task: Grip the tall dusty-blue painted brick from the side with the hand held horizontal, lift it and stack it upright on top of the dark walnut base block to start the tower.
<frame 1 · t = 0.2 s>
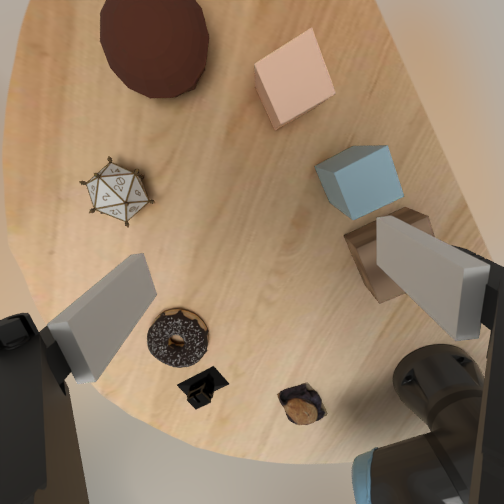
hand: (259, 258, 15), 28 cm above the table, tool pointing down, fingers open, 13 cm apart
blue brick: (340, 175, 40), on the table
clay brick: (285, 97, 37), on the table
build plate: (203, 381, 56), on the table
donut: (181, 331, 51), on the table
brown and black lump: (301, 401, 58), on the table
game die: (131, 188, 42), on the table
base block: (383, 248, 44), on the table
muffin: (172, 58, 35), on the table
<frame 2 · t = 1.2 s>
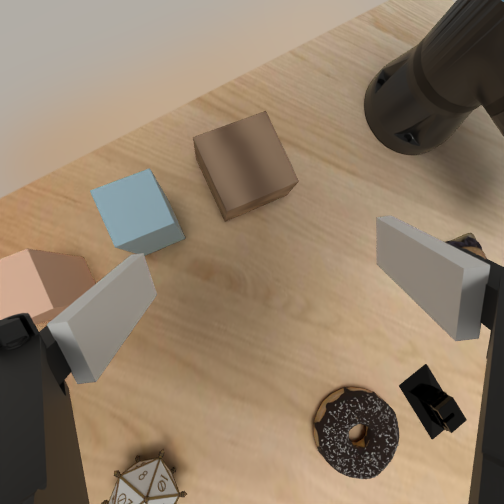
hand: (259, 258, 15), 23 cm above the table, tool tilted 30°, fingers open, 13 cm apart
blue brick: (156, 227, 37), on the table
clay brick: (70, 287, 35), on the table
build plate: (425, 399, 41), on the table
donut: (348, 422, 39), on the table
brown and black lump: (452, 265, 44), on the table
game die: (152, 472, 35), on the table
base block: (242, 177, 40), on the table
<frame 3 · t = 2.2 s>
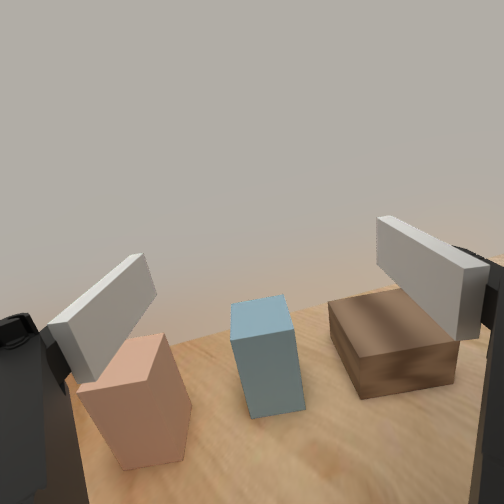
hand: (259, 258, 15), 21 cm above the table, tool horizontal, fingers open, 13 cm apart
blue brick: (274, 390, 32), on the table
clay brick: (161, 435, 30), on the table
base block: (383, 356, 34), on the table
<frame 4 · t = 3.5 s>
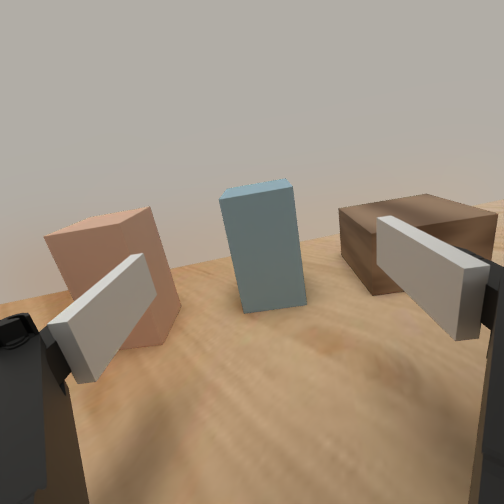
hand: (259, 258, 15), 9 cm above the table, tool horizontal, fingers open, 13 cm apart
blue brick: (273, 293, 28), on the table
clay brick: (143, 327, 27), on the table
base block: (401, 265, 29), on the table
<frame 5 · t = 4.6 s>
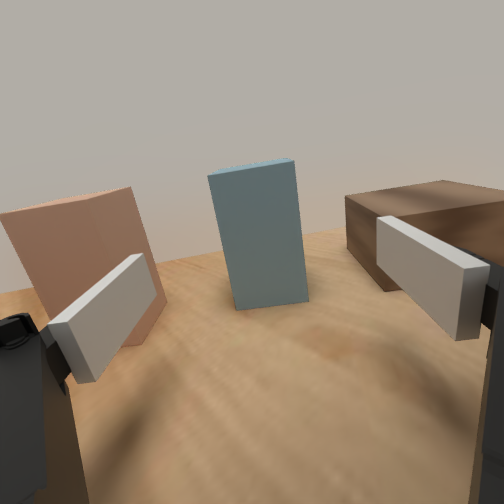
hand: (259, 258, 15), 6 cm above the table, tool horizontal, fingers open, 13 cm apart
blue brick: (270, 288, 25), on the table
clay brick: (122, 325, 23), on the table
base block: (416, 258, 26), on the table
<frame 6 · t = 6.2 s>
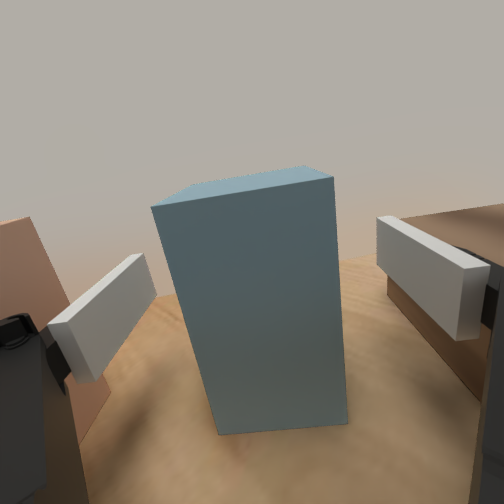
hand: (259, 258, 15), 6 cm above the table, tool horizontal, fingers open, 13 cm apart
blue brick: (278, 378, 15), on the table
clay brick: (26, 447, 14), on the table, touching hand
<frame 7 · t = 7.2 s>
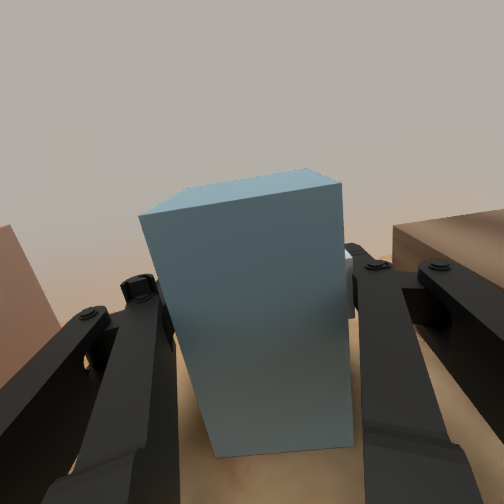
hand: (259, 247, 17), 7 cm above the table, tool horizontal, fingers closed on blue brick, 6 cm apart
blue brick: (278, 393, 14), on the table, touching gripper
clay brick: (8, 468, 13), on the table
when the fingers open (14 cm above the table, at t = 11.2 s): blue brick drops 1 cm, resting on base block.
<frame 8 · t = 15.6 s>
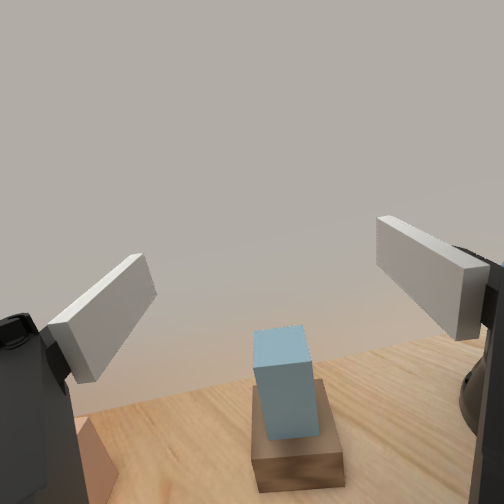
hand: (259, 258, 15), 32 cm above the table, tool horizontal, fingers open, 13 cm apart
blue brick: (291, 414, 34), point 6 cm above the table, touching base block
clay brick: (85, 502, 34), on the table
base block: (296, 446, 36), on the table
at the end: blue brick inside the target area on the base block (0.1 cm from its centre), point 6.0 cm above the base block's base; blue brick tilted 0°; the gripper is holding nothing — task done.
